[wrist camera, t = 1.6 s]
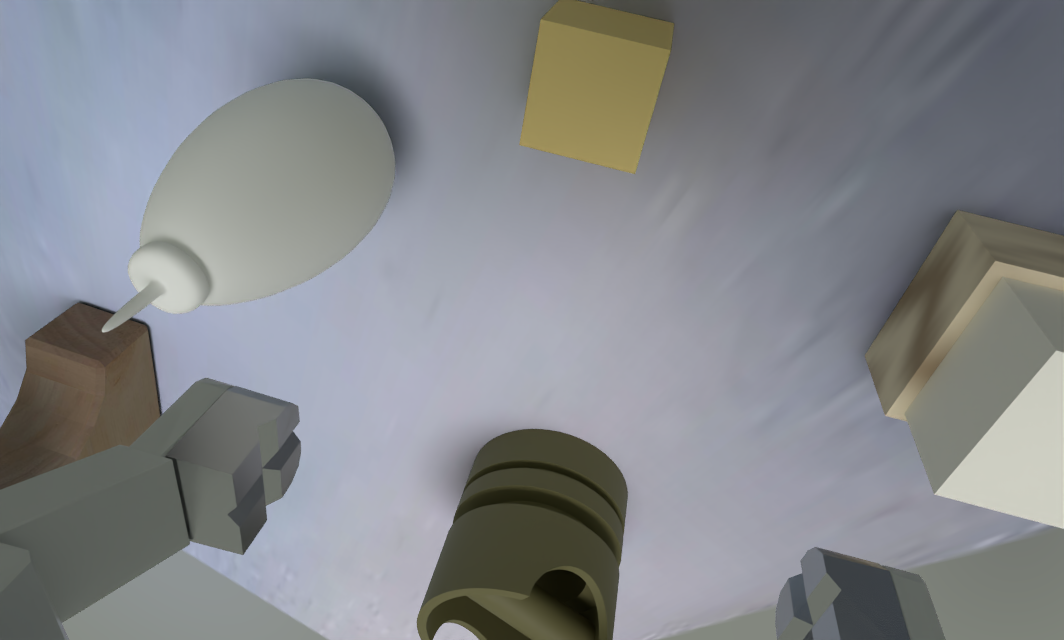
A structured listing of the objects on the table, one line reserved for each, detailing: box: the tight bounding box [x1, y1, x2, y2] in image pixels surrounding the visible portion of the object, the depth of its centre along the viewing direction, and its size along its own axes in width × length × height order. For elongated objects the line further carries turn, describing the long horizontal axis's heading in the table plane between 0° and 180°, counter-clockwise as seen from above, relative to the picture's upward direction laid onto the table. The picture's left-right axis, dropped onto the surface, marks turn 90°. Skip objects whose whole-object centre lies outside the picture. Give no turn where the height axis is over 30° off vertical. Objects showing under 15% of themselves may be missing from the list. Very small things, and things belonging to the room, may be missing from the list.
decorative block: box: [0, 303, 160, 490], centre depth 41 cm, size 11×6×20 cm, turn 164°
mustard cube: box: [519, 0, 674, 174], centre depth 28 cm, size 5×5×5 cm
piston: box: [417, 429, 628, 640], centre depth 42 cm, size 11×12×11 cm
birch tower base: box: [865, 210, 1064, 421], centre depth 31 cm, size 9×9×5 cm
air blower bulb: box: [102, 78, 395, 332], centre depth 27 cm, size 8×8×18 cm
